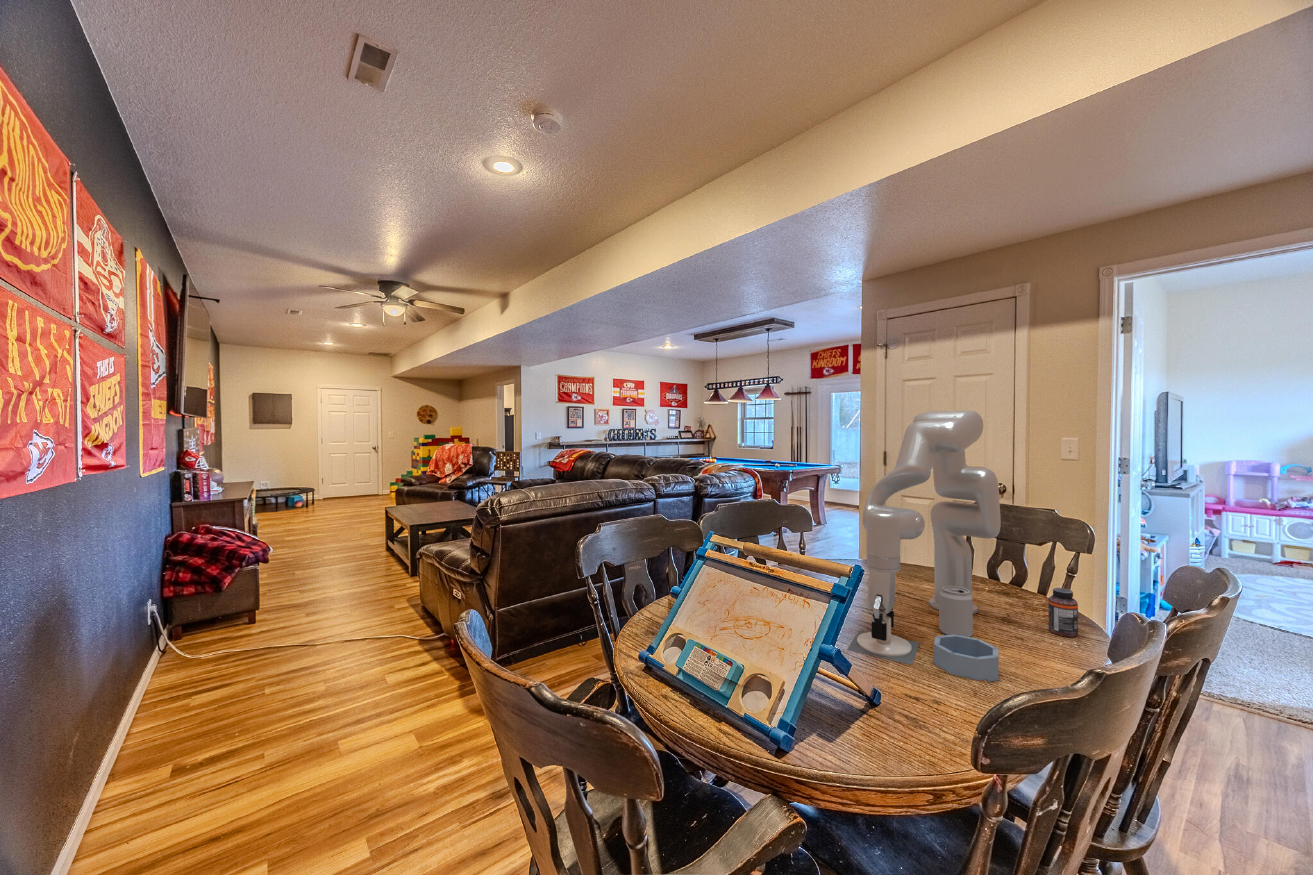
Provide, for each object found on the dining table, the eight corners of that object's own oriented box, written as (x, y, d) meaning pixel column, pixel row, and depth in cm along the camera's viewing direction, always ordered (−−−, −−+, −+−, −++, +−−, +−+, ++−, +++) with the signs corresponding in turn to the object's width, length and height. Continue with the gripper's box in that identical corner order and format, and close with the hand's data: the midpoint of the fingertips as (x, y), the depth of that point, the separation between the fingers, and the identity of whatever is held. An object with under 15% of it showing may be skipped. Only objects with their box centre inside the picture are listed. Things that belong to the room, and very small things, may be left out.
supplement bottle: (1048, 626, 133) (1048, 584, 132) (1077, 632, 129) (1077, 589, 129) (1048, 633, 128) (1048, 590, 128) (1078, 639, 124) (1078, 595, 124)
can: (978, 641, 124) (978, 594, 124) (945, 639, 125) (945, 592, 125) (965, 629, 131) (965, 584, 131) (934, 627, 133) (934, 583, 132)
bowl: (937, 651, 118) (937, 631, 118) (998, 664, 112) (998, 642, 112) (932, 672, 108) (932, 649, 108) (998, 687, 102) (998, 663, 102)
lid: (863, 632, 129) (862, 605, 129) (914, 643, 122) (914, 614, 122) (852, 649, 119) (852, 620, 119) (907, 661, 112) (907, 631, 112)
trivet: (859, 632, 130) (859, 630, 130) (919, 644, 122) (919, 642, 122) (846, 652, 119) (846, 649, 119) (911, 667, 111) (911, 664, 111)
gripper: (873, 553, 129) (873, 618, 129) (858, 567, 115) (858, 640, 115) (905, 557, 125) (905, 624, 125) (894, 572, 111) (893, 648, 111)
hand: (882, 632), depth 120 cm, fingers open, 9 cm apart
